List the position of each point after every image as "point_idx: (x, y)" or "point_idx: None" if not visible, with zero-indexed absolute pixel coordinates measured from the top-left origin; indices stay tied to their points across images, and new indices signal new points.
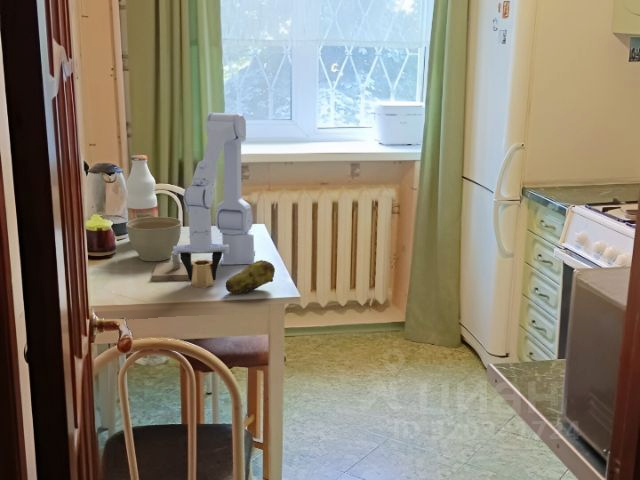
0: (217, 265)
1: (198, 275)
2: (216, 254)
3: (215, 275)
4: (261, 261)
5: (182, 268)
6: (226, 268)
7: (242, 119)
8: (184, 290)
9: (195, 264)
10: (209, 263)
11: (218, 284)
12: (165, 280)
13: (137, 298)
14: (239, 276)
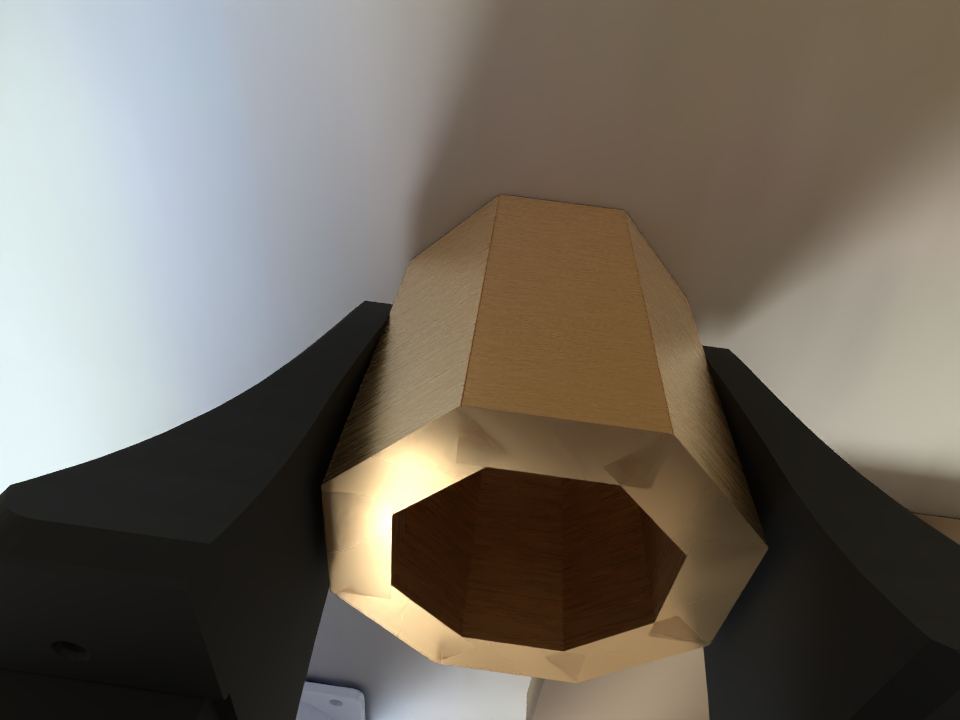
0: (208, 412)
1: (618, 302)
2: (109, 676)
3: (333, 327)
4: None
5: (704, 671)
6: (317, 634)
7: None
8: (849, 121)
9: (674, 521)
10: (377, 511)
11: (342, 279)
12: (932, 516)
13: None
14: None
